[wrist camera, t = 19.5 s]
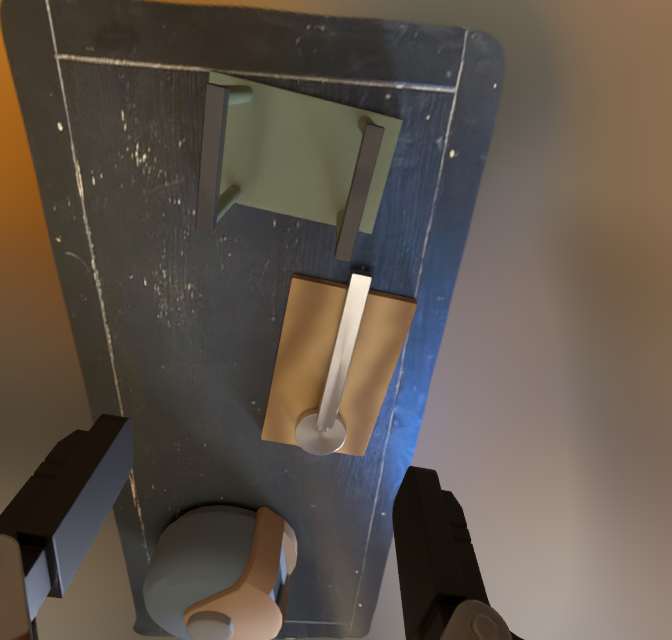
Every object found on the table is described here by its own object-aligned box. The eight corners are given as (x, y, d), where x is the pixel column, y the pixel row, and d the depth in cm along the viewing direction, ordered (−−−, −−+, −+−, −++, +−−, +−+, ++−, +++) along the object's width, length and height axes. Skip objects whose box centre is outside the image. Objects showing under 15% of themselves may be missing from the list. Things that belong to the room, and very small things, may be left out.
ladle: (331, 260, 43) (331, 268, 41) (388, 271, 44) (392, 281, 41) (291, 444, 52) (289, 462, 49) (339, 452, 53) (340, 470, 50)
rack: (401, 118, 37) (423, 130, 27) (370, 230, 41) (380, 274, 32) (213, 70, 35) (165, 64, 25) (203, 192, 40) (160, 226, 30)
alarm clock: (301, 580, 69) (294, 670, 58) (177, 581, 69) (147, 672, 58) (292, 498, 60) (282, 588, 49) (148, 501, 60) (107, 590, 49)
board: (416, 299, 45) (417, 304, 44) (362, 449, 55) (363, 456, 54) (293, 272, 44) (292, 277, 42) (262, 432, 54) (260, 439, 53)
